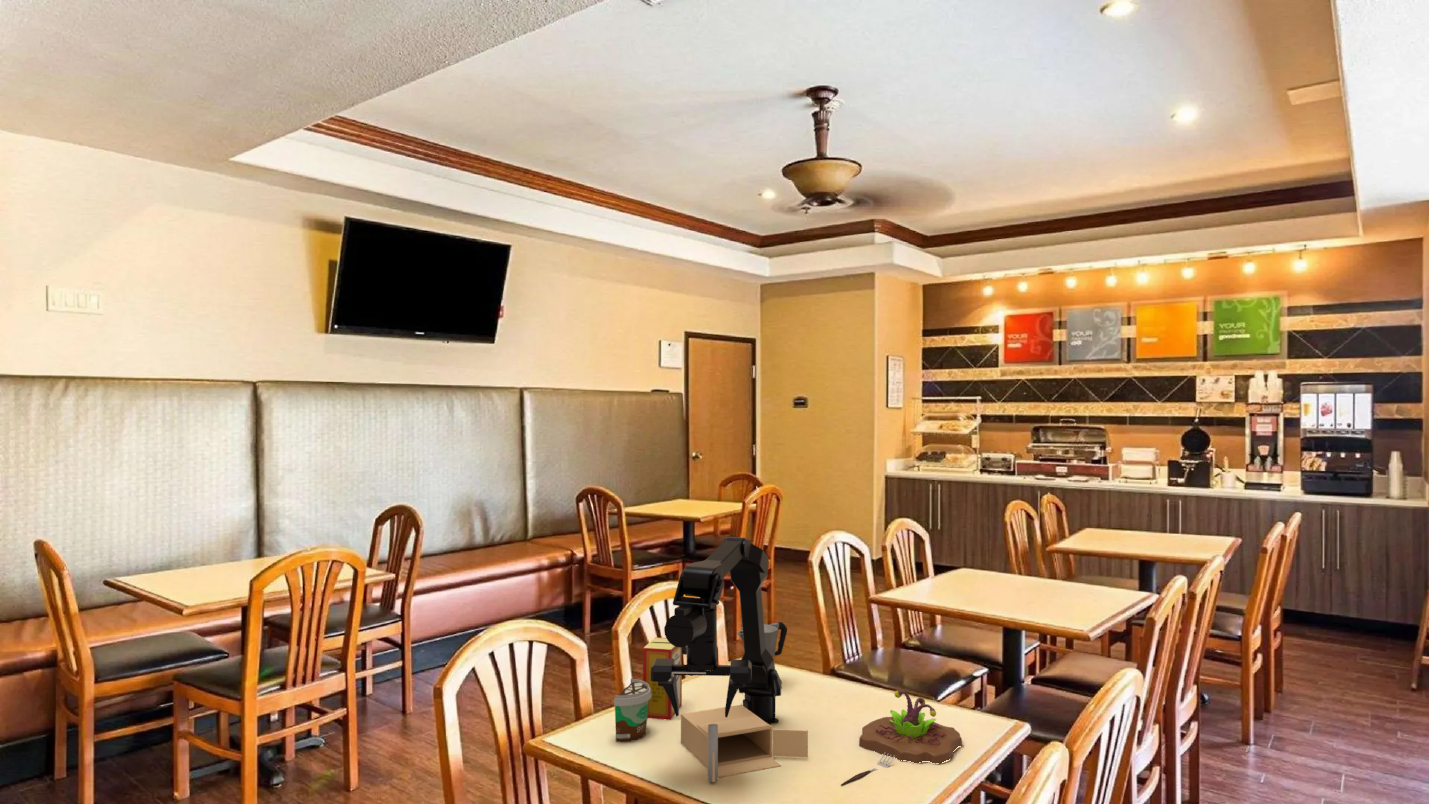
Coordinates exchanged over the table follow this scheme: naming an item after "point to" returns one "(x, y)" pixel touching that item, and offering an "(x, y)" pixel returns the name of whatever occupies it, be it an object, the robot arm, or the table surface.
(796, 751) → the carton
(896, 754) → the plant
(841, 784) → the fork
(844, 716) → the table surface
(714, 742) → the flap
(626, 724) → the food container
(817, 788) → the table surface
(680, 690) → the baking soda box
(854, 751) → the table surface
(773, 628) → the coffeepot
